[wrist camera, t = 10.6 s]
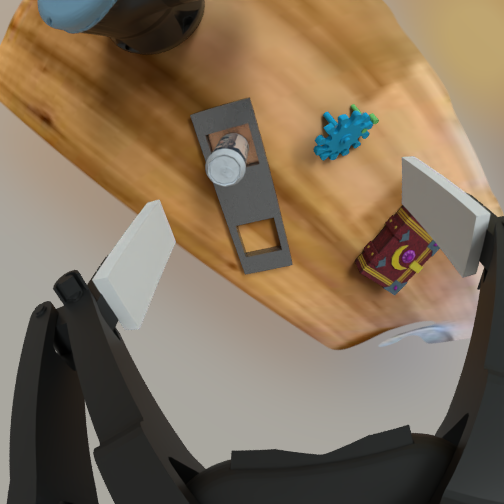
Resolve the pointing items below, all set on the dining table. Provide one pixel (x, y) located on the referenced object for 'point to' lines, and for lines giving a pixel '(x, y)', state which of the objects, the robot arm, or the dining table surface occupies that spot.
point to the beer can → (228, 160)
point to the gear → (343, 133)
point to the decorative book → (397, 252)
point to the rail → (245, 182)
